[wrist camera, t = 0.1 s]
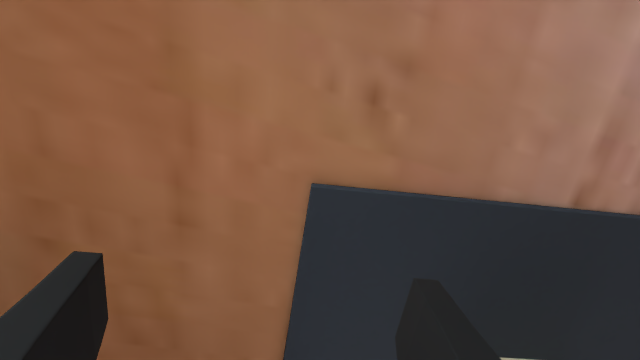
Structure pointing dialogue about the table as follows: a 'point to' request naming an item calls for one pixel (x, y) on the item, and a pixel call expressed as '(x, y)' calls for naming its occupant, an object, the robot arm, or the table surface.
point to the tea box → (513, 359)
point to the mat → (465, 275)
